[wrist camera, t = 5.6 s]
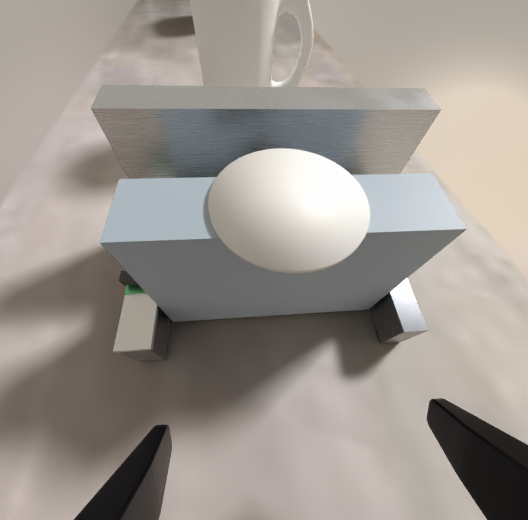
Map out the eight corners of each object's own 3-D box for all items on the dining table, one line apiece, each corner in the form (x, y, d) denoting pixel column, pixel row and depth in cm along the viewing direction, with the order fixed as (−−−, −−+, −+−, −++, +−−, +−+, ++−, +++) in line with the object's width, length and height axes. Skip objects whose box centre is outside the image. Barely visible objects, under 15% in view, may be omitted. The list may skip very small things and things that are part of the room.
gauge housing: (400, 342, 16) (566, 271, 8) (138, 361, 15) (-11, 302, 6) (356, 213, 22) (424, 88, 13) (161, 219, 21) (97, 85, 12)
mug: (207, 145, 26) (178, -31, 15) (208, 109, 29) (185, -56, 19) (303, 144, 27) (337, -23, 16) (294, 108, 30) (317, -49, 20)
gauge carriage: (374, 331, 16) (493, 261, 8) (138, 348, 15) (13, 284, 7) (351, 253, 19) (422, 147, 11) (152, 262, 18) (75, 150, 10)
